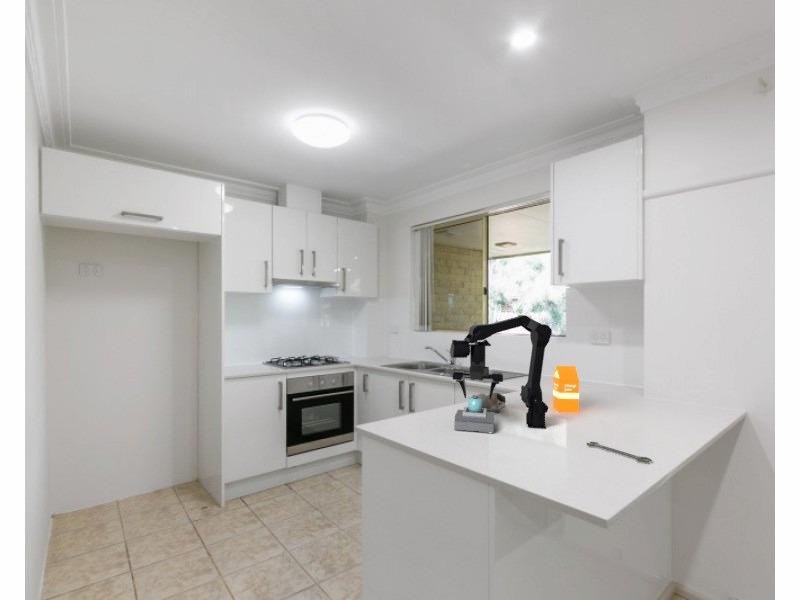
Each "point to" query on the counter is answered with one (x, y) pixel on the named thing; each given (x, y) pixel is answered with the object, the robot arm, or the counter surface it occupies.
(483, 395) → the pipe
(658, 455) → the counter surface
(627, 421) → the counter surface
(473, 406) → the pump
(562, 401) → the orange juice
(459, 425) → the square aluminium tube flange
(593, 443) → the wrench
